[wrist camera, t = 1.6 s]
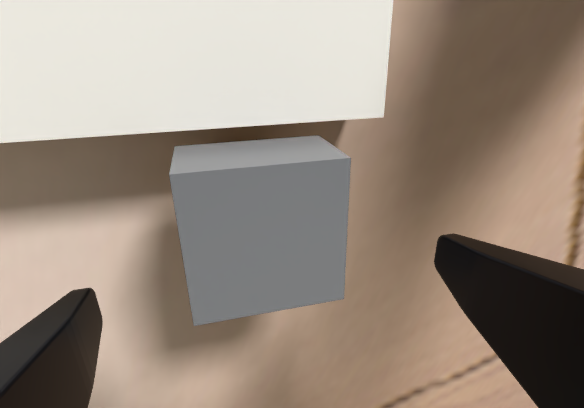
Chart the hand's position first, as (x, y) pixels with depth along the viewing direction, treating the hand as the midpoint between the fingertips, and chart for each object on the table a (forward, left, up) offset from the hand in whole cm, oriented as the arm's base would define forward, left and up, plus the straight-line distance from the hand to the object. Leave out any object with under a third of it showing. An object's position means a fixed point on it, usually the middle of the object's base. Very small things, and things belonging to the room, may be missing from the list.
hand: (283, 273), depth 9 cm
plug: (0, 0, -8) cm, 8 cm away
